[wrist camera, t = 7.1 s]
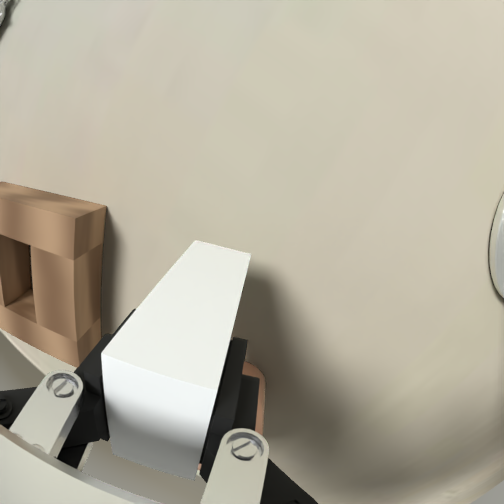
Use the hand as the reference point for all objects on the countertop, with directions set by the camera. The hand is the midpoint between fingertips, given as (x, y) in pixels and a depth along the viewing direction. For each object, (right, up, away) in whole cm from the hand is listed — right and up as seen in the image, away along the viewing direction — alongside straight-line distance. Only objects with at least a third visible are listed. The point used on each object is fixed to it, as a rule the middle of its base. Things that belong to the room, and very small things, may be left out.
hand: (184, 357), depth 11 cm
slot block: (-15, +3, +11) cm, 19 cm away
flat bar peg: (0, +2, +6) cm, 6 cm away
